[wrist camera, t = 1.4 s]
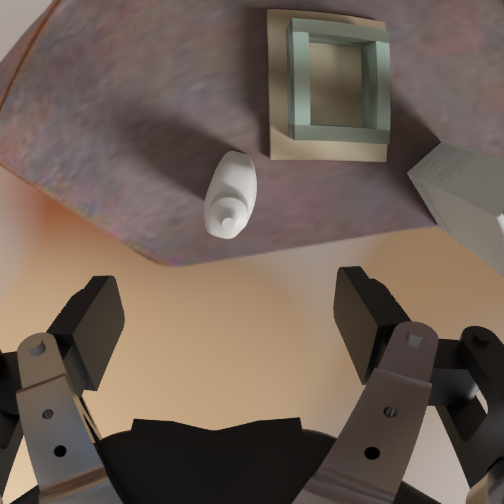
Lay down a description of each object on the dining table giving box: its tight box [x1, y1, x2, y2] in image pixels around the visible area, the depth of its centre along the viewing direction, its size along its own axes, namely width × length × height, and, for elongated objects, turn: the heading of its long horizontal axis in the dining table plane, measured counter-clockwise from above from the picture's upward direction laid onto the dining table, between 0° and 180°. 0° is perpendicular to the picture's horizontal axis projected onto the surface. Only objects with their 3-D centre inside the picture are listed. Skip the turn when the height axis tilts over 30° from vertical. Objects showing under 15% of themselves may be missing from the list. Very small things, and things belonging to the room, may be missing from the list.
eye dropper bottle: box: [204, 151, 257, 239], centre depth 23 cm, size 4×6×12 cm
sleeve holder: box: [267, 9, 391, 162], centre depth 23 cm, size 14×11×4 cm
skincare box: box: [407, 142, 504, 277], centre depth 23 cm, size 8×6×15 cm
